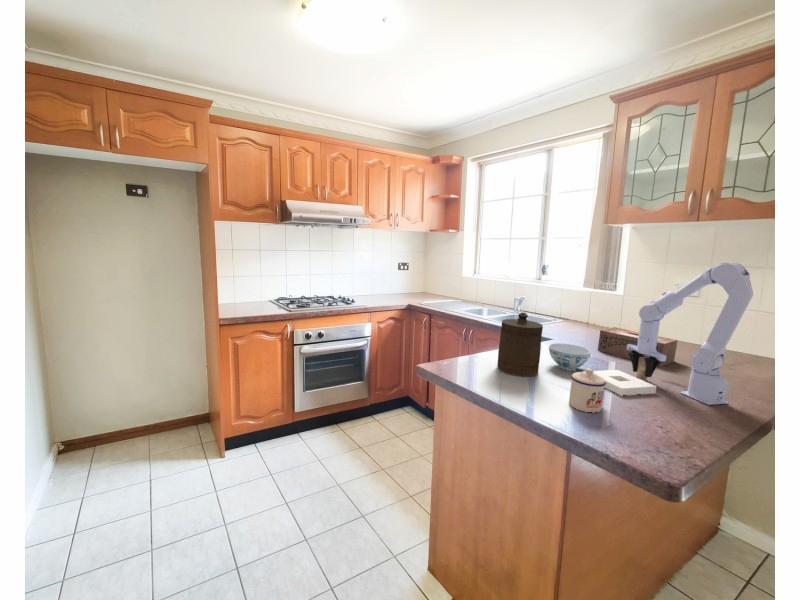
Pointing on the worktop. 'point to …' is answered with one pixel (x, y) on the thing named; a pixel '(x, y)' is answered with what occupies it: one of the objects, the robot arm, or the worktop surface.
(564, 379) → the worktop surface
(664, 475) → the worktop surface
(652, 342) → the robot arm
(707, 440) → the worktop surface
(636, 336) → the tissue box cover
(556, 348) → the chinaware
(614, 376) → the socket plate
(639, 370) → the peg
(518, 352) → the wooden container
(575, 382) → the teacup with lid
